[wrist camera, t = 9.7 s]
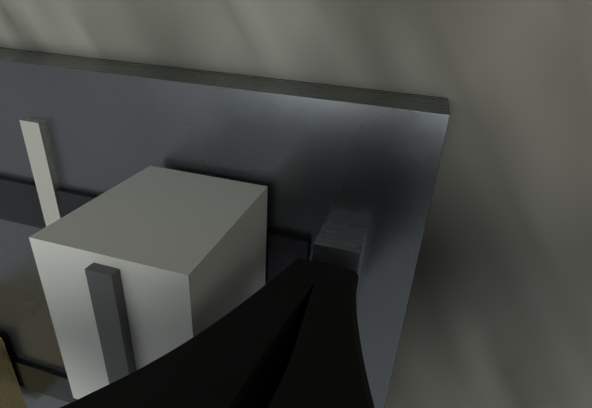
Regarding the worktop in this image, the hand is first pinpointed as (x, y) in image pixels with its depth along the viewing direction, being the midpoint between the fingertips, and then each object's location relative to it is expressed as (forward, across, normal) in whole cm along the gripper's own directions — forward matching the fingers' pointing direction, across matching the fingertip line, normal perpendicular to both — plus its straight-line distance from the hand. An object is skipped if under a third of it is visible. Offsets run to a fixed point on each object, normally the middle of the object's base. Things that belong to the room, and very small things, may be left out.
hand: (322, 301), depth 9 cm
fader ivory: (+1, +3, 0) cm, 3 cm away
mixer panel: (+3, +8, +4) cm, 9 cm away
